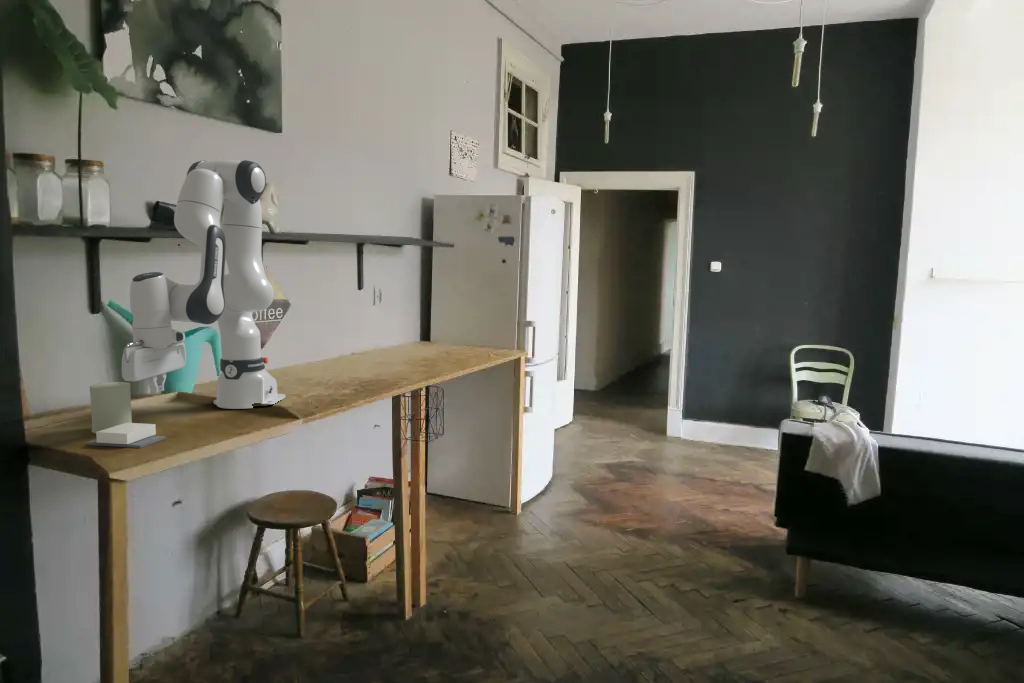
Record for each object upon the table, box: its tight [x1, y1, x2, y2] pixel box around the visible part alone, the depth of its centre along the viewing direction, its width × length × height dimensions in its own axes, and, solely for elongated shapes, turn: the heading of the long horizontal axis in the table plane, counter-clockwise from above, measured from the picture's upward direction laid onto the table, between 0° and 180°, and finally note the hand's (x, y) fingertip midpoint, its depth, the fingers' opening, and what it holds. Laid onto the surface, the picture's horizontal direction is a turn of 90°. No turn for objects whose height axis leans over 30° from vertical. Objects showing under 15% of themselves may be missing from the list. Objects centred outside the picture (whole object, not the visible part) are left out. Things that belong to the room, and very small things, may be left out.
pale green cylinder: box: [89, 381, 133, 434], centre depth 184 cm, size 9×9×12 cm
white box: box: [95, 422, 157, 444], centre depth 172 cm, size 3×8×10 cm
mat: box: [86, 435, 166, 449], centre depth 172 cm, size 9×14×1 cm, turn 80°
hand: (157, 392), depth 183 cm, fingers closed
